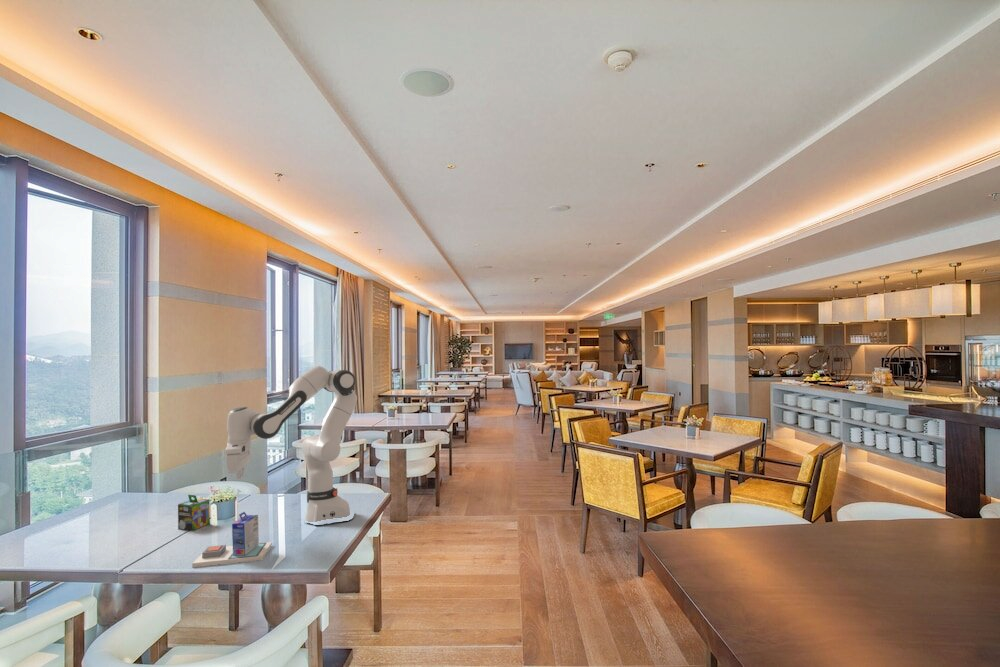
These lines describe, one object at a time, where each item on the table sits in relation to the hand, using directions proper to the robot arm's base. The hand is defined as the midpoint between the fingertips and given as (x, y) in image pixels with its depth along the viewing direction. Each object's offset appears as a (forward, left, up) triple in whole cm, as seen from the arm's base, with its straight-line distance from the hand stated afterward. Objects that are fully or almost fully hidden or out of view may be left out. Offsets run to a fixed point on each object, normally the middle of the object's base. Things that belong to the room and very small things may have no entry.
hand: (240, 478), depth 203 cm
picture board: (-3, +19, -26) cm, 32 cm away
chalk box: (+26, -22, -26) cm, 42 cm away
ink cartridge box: (-7, +18, -24) cm, 31 cm away
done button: (+4, +19, -24) cm, 30 cm away
